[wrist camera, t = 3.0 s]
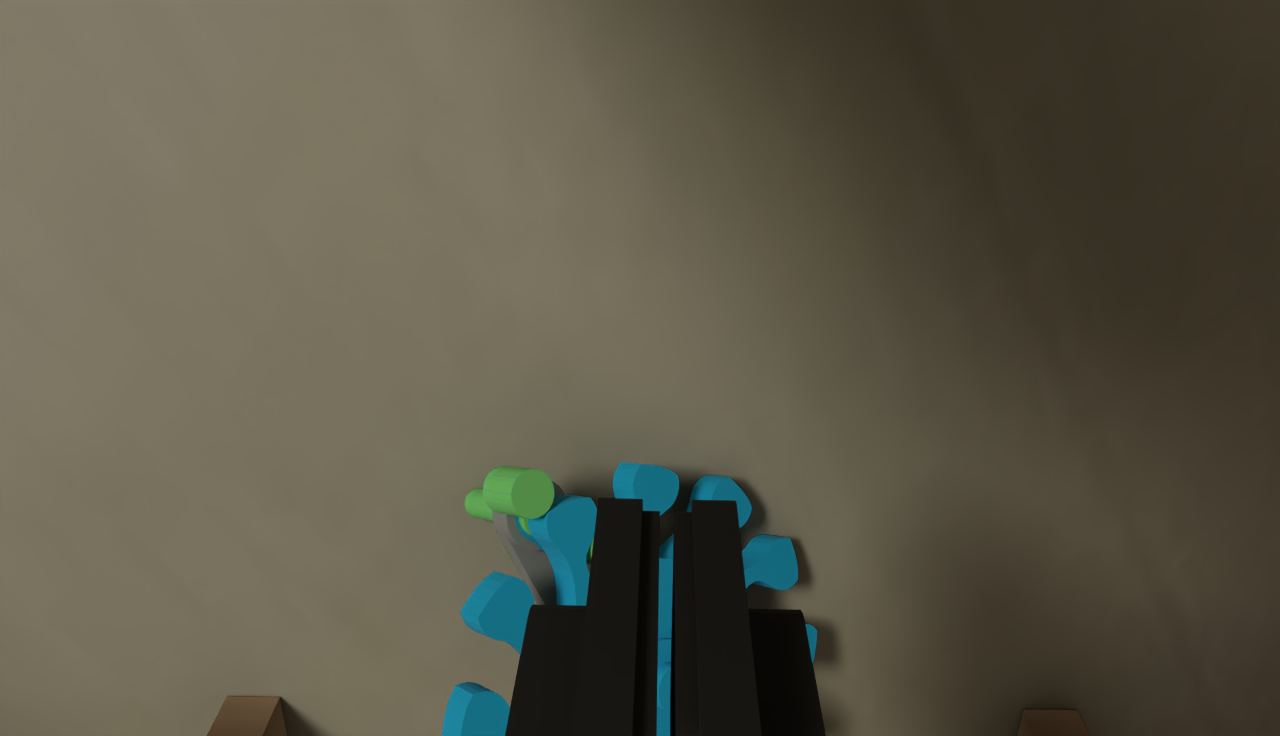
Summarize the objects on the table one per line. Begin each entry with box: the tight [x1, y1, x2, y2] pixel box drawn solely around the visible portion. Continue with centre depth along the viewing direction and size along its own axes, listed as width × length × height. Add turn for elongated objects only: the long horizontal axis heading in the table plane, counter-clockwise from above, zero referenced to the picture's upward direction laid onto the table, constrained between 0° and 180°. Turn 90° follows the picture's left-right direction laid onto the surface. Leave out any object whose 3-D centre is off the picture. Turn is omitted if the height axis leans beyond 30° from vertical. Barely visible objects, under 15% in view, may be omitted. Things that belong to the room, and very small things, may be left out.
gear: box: [442, 462, 817, 736], centre depth 25 cm, size 11×6×10 cm
